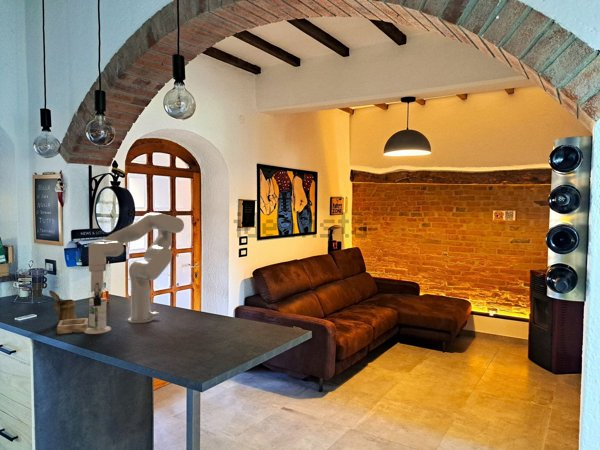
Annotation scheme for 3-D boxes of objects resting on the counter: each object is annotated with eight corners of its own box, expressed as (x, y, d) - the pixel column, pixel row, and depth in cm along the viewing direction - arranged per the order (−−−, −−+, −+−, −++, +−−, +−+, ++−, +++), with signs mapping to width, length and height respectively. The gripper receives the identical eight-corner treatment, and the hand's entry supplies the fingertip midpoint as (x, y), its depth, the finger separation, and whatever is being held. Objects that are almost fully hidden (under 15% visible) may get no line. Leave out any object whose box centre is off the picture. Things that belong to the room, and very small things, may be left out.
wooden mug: (44, 324, 219) (44, 289, 219) (70, 319, 231) (70, 285, 230) (54, 327, 215) (54, 291, 214) (80, 321, 226) (80, 287, 226)
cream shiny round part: (111, 326, 219) (111, 324, 218) (110, 332, 207) (110, 331, 207) (84, 328, 214) (84, 327, 214) (82, 335, 203) (82, 333, 203)
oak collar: (88, 324, 220) (88, 318, 220) (86, 331, 209) (86, 324, 209) (60, 327, 215) (60, 320, 215) (57, 333, 204) (57, 326, 204)
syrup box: (88, 328, 210) (88, 298, 209) (99, 325, 215) (99, 296, 214) (95, 330, 207) (95, 300, 206) (107, 327, 212) (106, 298, 211)
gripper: (90, 265, 216) (90, 300, 217) (87, 270, 200) (87, 308, 201) (106, 265, 219) (106, 299, 220) (105, 270, 203) (105, 307, 204)
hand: (97, 303), depth 210 cm, fingers closed on syrup box, 7 cm apart
